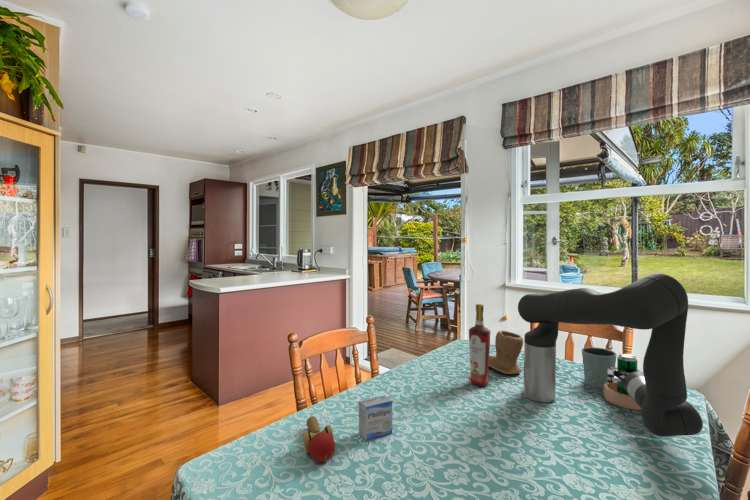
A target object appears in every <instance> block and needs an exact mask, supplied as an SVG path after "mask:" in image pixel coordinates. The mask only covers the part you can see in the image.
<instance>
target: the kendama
mask: <svg viewBox="0 0 750 500" xmlns="http://www.w3.org/2000/svg"><path fill="white" fill-rule="evenodd" d="M318 421H319V420H318V419H317V417H315V416H309V417H308V418H307V420H306V422H305V423H306V426H307V428H308V429H309V431H308V430H305V431H302V439H303V446H304V449H306V450H305V453H306V454H309V455H310V457H311V459H312V460H314V461H315V462H318V463H324V462H326V463H327V462H328V461H329V460H330V459H331V458H332V457H333V456H334V453H335V450H336V442H335V438H334V433H333V429H332V426H331V424H327V425H325V426H324V428H323V429H322V430H321V429H320V425H319V422H318Z"/></svg>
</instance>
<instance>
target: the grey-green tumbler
mask: <svg viewBox="0 0 750 500" xmlns="http://www.w3.org/2000/svg"><path fill="white" fill-rule="evenodd" d="M581 355H582V364H583V379H584V384H586V386H590V387H592V388H595V389H597V390H598V389H599V390H604V384H605V383H606V382H608V369H611V367H613V366H616V364H617V363H616V362H617V356H618V355H617V353H616V352H615V351H614V350H611V349H607V348H601V347H595V346H593V347H591V346H589V347H583V348H581Z"/></svg>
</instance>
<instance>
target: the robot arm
mask: <svg viewBox="0 0 750 500" xmlns="http://www.w3.org/2000/svg"><path fill="white" fill-rule="evenodd" d="M517 310H518V314H519V316H520V318H521V319H522V320H524V321H525V322H527V323H529V324H538V325H536V327H534V328H533V329H532V330H529V331H527V332H525V334H524V339H523V347H524V348H523V350H524V351H523V352H524V353H523V355H524V356H523V357H524V358H523V360H524V361H523V362H524V363H523V395H524V396H523V397H524V398H525V399H529V400H531V401H534V402H537V403H552V402H555V401H556V398H557V397H556V393H557V392H556V385H557V381H556V380H557V379H556V378H557V374H556V373H557V371H556V370H557V368H556V367H557V365H556V364H557V340H558V336H559V324H560V323H562V324H563V323H564V324H573V325H607V326H608V325H609V326H610V325H611V326H617V327H623V328H629V329H633V330H651V332H650V333H651V334H650V338H649V341H648V344H647V347H646V350H645V353H644V357H643V362H642V371H641V370H640V369H639V368H637V372H632V373H627V372H625V371H623V370H619V369H618V368H617V365H615V366H613V367H611V369H608V382H609V383H613V382H614V381H616V382H619V384H621V385H623V387H624V389H625V391H626V392H627V393H628V394H629V396H630V397H631V398H632V399H633V400H634V402H635V403H637V404H638V405H639V406H640V407H641V410H640V412H641V420H642V422H643V425H644V426H645V428H646V429H647V430H648V431H649V432H650V433H651V434H653V435H655V436H657V437H663V438H664V437H667V438H668V437H681V436H683V437H685V436H696V435H698V434H699V433H700V432H701V431H702V430H703V426H704V422H703V418H702V416H701V415H700V413H699V412H698V410H697V409H696V408H695V407H694V406H693V405H692V404H691V403H690V402H688V401H687V399H688V391H687V381H686V376H685V368H684V353H685V351H684V350H685V349H684V348H685V339H686V329H687V321H688V320H687V319H688V313H689V312H688V311H689V298H688V294H687V291H686V289H685V287H684V286H683V284H681V282H679V280H677V279H676V278H674V277H673V276H671V275H669V274H666V273H662V272H659V273H658V272H655V273H651V274H648V275H645V276H643V277H641V278H639V279H638V280H635V281H633V282H632V283H630V284H627V285H626V286H624V287H622V288H620V289H618V290H614V291H611V292H608V293H600V292H599V291H598V290H595V289H593V288H589V287H579V288H571V289H567V290H561V291H557V292H552V293H528V294H524V295H523V296H522V297H521V298H520V299H519V301H518V304H517Z"/></svg>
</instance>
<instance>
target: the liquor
mask: <svg viewBox="0 0 750 500" xmlns="http://www.w3.org/2000/svg"><path fill="white" fill-rule="evenodd" d="M484 306H485V305H484V304H483V303H481V304H480V303H475V313H476V314H475V325H474V326H472V327H470V328H469V329H468V345H469V346H468V347H469V362H470V363H469V364H470V365H469V366H470V367H469V368H470V377H469V379H468V380H469V381H470V382H471V383H472V385H474V386H476V385H477V387H485V386H487V385H488V384H489V383H490V379H489V368H490V366H489V356H490V350H491V349H490V348H491V330H490V329H488V328H487V327H485V325H484V323H485V322H484Z"/></svg>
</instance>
